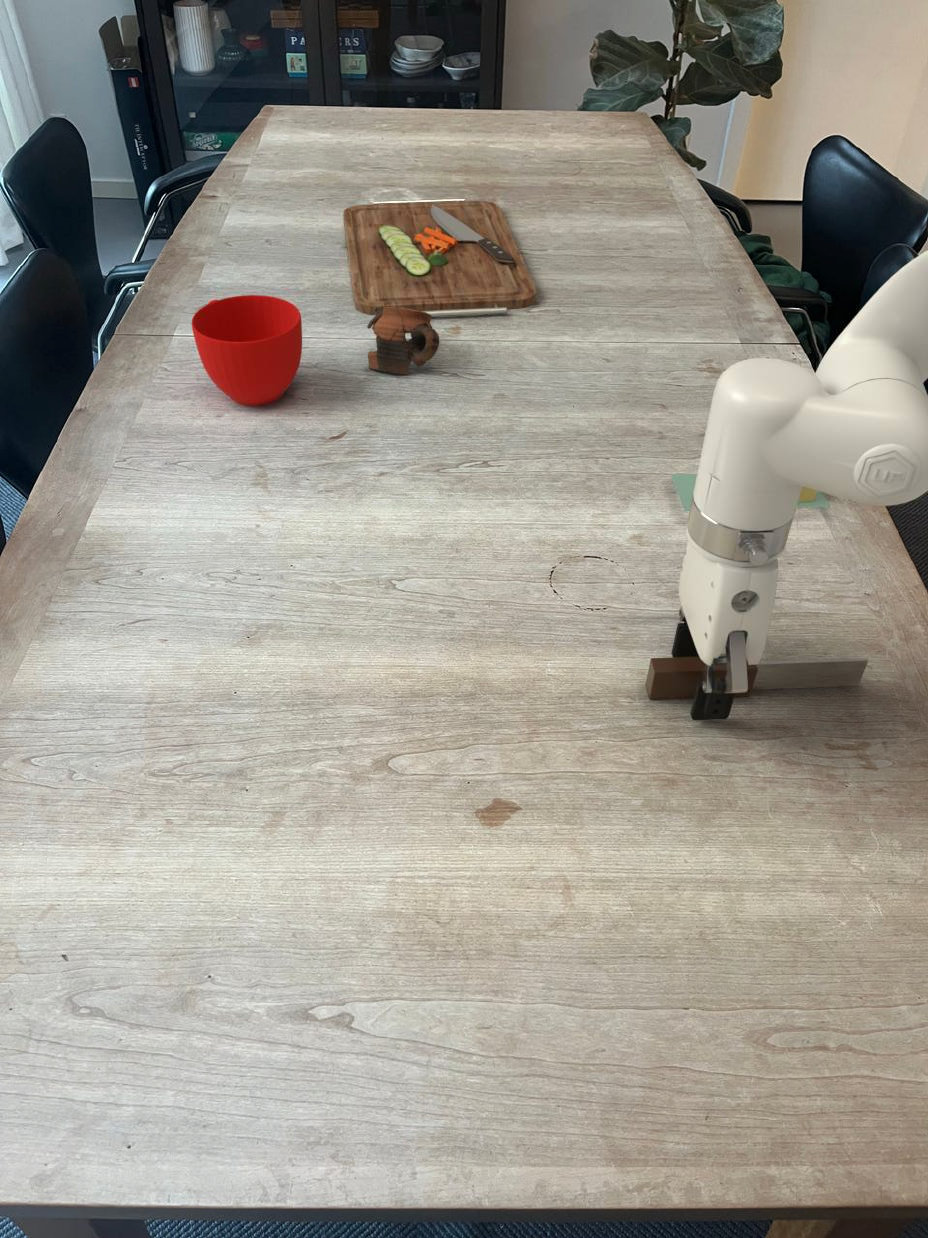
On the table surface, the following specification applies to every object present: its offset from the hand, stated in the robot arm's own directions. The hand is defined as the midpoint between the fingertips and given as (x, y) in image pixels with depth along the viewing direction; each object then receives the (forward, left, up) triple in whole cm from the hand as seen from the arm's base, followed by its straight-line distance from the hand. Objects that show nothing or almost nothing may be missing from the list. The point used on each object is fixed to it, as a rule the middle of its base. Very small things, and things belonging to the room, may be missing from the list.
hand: (698, 685), depth 88 cm
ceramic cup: (+44, -56, -1) cm, 72 cm away
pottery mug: (+24, -62, -1) cm, 67 cm away
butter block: (-15, -29, 0) cm, 33 cm away
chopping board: (+19, -97, -1) cm, 99 cm away
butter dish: (-13, -29, -1) cm, 32 cm away
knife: (-5, 0, -1) cm, 5 cm away
